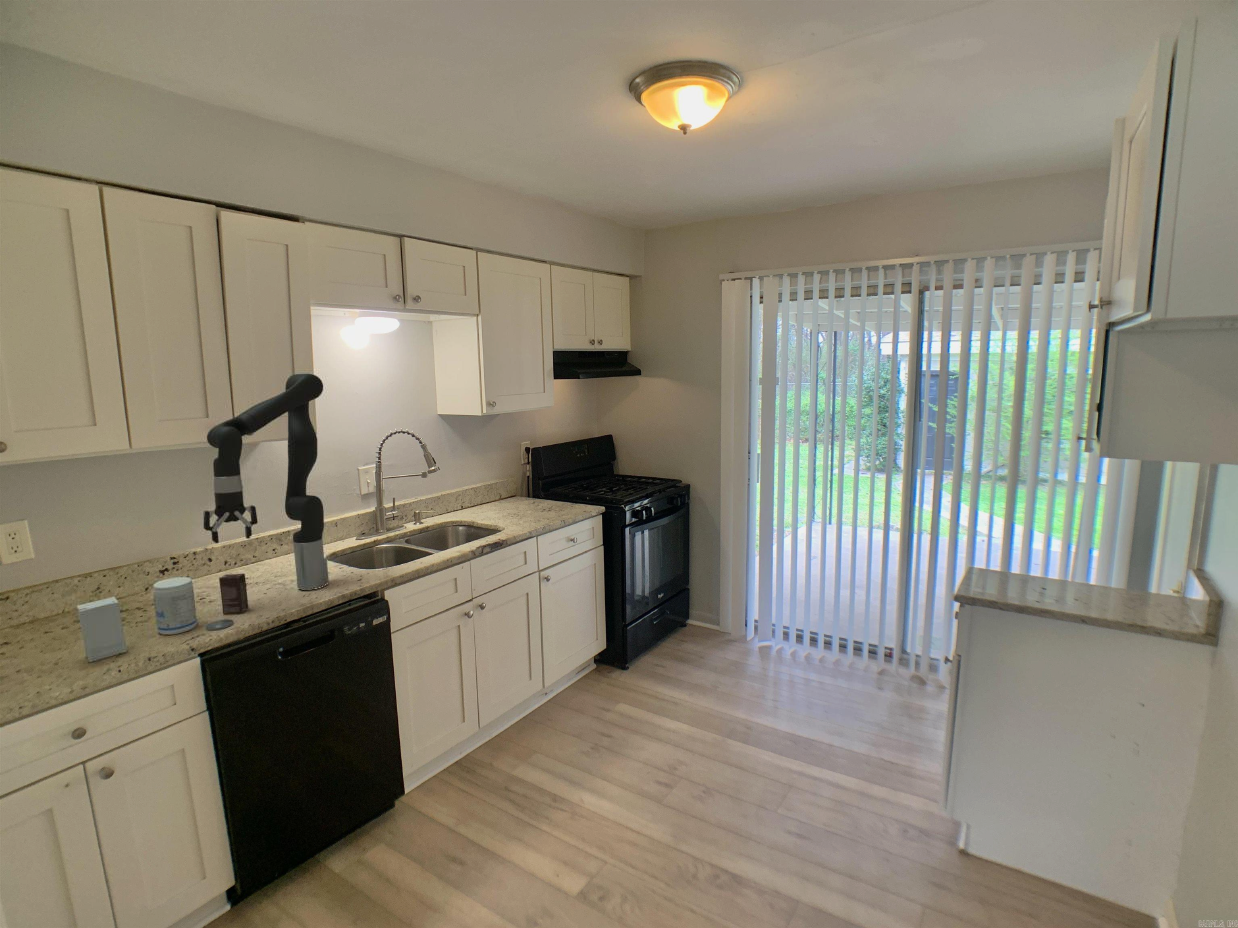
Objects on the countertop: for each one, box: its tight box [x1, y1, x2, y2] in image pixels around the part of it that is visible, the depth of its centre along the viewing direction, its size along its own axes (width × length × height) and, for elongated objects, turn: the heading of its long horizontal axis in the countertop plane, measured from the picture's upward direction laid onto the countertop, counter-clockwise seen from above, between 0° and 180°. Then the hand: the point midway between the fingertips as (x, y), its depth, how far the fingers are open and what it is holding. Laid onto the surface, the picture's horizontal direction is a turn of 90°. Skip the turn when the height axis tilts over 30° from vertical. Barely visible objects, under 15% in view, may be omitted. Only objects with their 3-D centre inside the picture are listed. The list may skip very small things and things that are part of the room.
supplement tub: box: [152, 576, 198, 636], centre depth 180 cm, size 10×10×15 cm
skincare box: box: [76, 596, 128, 663], centre depth 164 cm, size 8×6×15 cm
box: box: [218, 573, 249, 615], centre depth 193 cm, size 6×4×12 cm
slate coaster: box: [205, 618, 234, 632], centre depth 183 cm, size 7×7×1 cm
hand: (232, 540), depth 193 cm, fingers open, 8 cm apart
